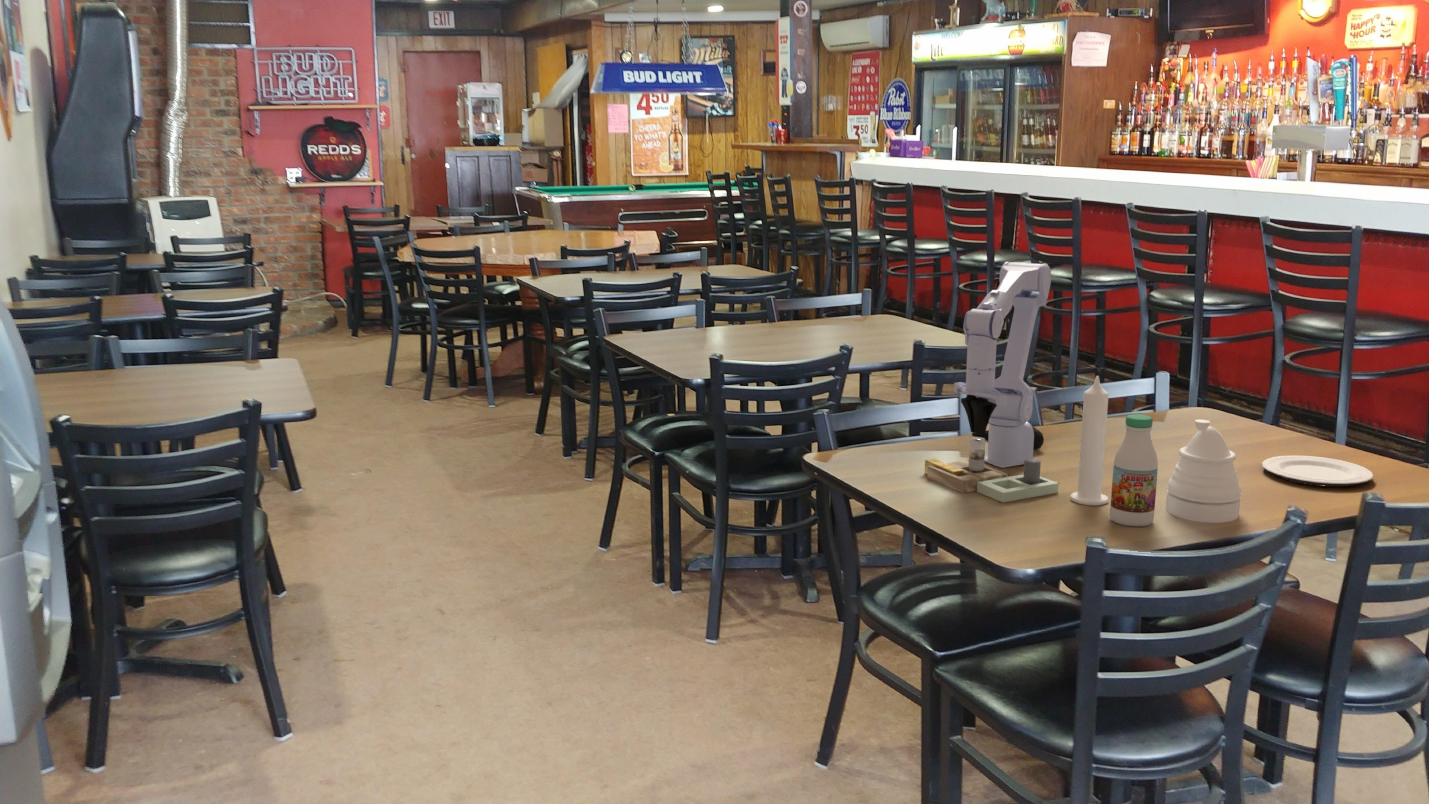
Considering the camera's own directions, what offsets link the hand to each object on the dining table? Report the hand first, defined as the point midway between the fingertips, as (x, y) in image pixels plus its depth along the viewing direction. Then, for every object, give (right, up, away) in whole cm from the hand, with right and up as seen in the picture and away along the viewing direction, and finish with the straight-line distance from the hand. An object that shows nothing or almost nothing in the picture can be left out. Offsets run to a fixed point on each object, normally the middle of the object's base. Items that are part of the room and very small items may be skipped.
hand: (977, 432), depth 236 cm
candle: (+19, -13, -11) cm, 26 cm away
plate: (+72, -10, +4) cm, 73 cm away
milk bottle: (+23, -16, -23) cm, 36 cm away
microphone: (+14, -4, +31) cm, 35 cm away
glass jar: (0, -10, +2) cm, 10 cm away
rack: (+7, -12, -5) cm, 15 cm away
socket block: (-2, -10, +2) cm, 11 cm away
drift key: (-6, -10, +4) cm, 12 cm away
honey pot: (+38, -15, -18) cm, 45 cm away
